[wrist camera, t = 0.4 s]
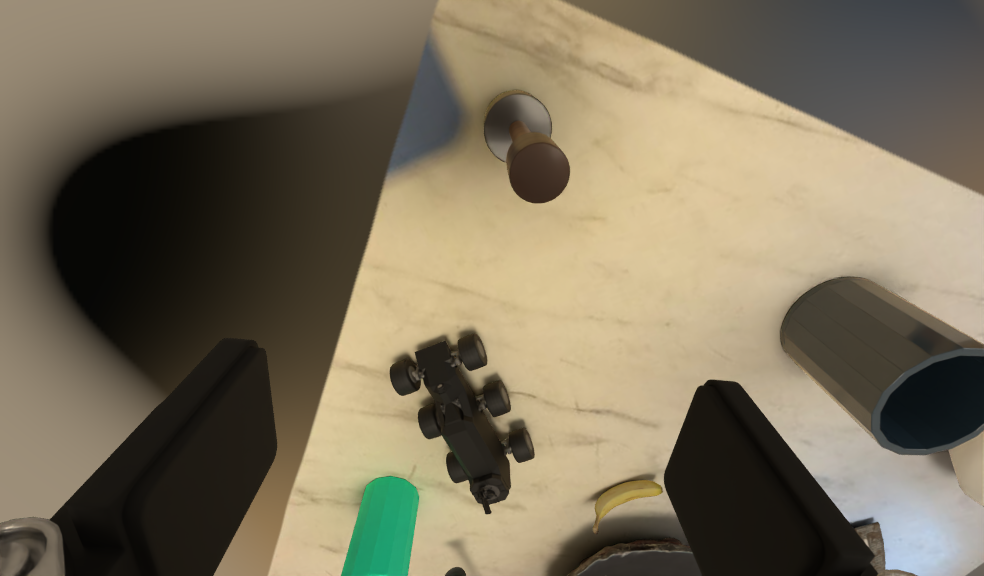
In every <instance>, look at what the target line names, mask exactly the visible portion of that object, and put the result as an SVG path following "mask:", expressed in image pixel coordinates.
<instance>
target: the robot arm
mask: <svg viewBox="0 0 984 576" xmlns="http://www.w3.org/2000/svg"><path fill="white" fill-rule="evenodd" d="M276 451H277V439H276V430H275V422H274V413H273V405H272V397H271V390H270V381H269V372H268V364H267V356H266V351H265V349H263V348H258V345H257V343H256V341H254V340H244V339H233V338H224V339H222V340H221V341H220V342H219V343H218V344H217V345H216V346H215V347H214V349H212V350H211V352H210V353H209V354H208V355H207V356H206V357H205V358H204V359H203V360H202V361H201V362H200V363H199V364H198V365H197V366H196V367H195V369H194V370H193V371H192V372H191V373H190V374H189V375H188V376H187V377H186V378H185V379H184V380H183V381H182V382H181V383H180V384H179V385H178V386H177V388H176V389H175V390H174V391H173V392H172V393H171V394H170V395H169V396H168V397H167V398H166V399H165V400H164V401H163V402H162V403H161V404H159V405H158V406H157V407H156V408H155V409H154V410H153V411H152V412H151V414H150V415H148V417H147V418H146V419H145V420H144V421H143V422H142V423H141V424H140V425H139V426H138V427H137V428H136V429H135V430H134V432H132V433H131V434H130V435H129V437H128V438H127V439H126V440H125V441H124V442H123V443H122V444H121V445H120V446H119V447H118V448H117V449H116V450H115V451H114V452H113V453H112V454H111V456H110V457H109V458H108V459H107V460H106V461H105V462H104V463H103V464H102V465H101V466H100V467H99V468H98V469H97V470H96V471H95V472H94V473H93V475H92V476H91V477H90V478H89V479H88V480H87V481H86V482H85V483H84V484H83V485H82V486H81V487H80V488H79V489H78V490H77V491H76V492H75V493H74V495H73V496H72V497H71V498H70V499H69V500H68V501H67V502H66V503H65V504H64V505H63V506H62V507H61V508H60V509H59V510H58V511H57V513H56V514H55V515H54V516H53V517H52V518H51V519H50V520H49V519H44V518H37V517H28V518H20V519H13V520H9V521H6V522H2V523H0V576H213V575H214V573H215V571H216V569H217V567H218V566H219V564H220V562H221V560H222V558H223V556H224V554H225V552H226V550H227V549H228V547H229V545H230V543H231V541H232V539H233V537H234V535H235V533H236V531H237V530H238V528H239V526H240V524H241V522H242V520H243V518H244V516H245V514H246V512H247V511H248V509H249V507H250V505H251V503H252V501H253V499H254V497H255V495H256V493H257V492H258V490H259V488H260V486H261V484H262V482H263V480H264V478H265V476H266V475H267V473H268V471H269V469H270V466H271V465H272V463H273V461H274V459H275V456H276ZM664 484H665V488H666V491H667V494H668V496H669V498H670V501H671V503H672V505H673V508H674V510H675V512H676V515H677V517H678V520H679V522H680V524H681V527H682V529H683V531H684V534H685V536H686V538H687V541H688V543H689V546H690V548H691V550H692V553H693V555H694V557H695V560H696V562H697V564H698V567H699V569H700V572H701V574H702V576H917V575H915V574H912V573H909V572H905V571H901V570H884V571H883V572H881V573H878V572H877V571H876V570H875V568H874V567H873V566H872V564H871V563H870V562H871V561H872V560H873V558H874V557H875V555H874V554H873V552H872V551H871V550H870V549H869V547H868V546H867V545H866V543H865V542H864V541H863V540H862V538H861V537H860V536H859V535H858V533H857V532H856V531H855V530H854V528H853V527H852V526H851V524H850V523H849V522H848V521H847V519H846V518H845V517H844V516H843V514H842V513H841V512H840V511H839V509H838V508H837V507H836V505H835V504H834V503H833V502H832V500H831V499H830V498H829V497H828V495H827V494H826V493H825V492H824V490H823V489H822V488H821V486H820V485H819V484H818V483H817V481H816V480H815V479H814V478H813V476H812V475H811V474H810V472H809V471H808V470H807V469H806V467H805V466H804V465H803V464H802V462H801V461H800V460H799V459H798V457H797V456H796V455H795V453H794V452H793V451H792V450H791V448H790V447H789V446H788V445H787V443H786V442H785V441H784V440H783V438H782V437H781V436H780V434H779V433H778V432H777V431H776V429H775V428H774V427H773V426H772V424H771V423H770V422H769V421H768V419H767V418H766V417H765V415H764V414H763V413H762V412H761V410H760V409H759V408H758V407H757V405H756V404H755V403H754V402H753V400H752V399H751V398H750V396H749V395H748V394H747V393H746V391H745V390H744V389H743V388H742V386H741V385H740V384H739V383H737V382H733V381H721V380H708V381H707V382H706V383H705V384H704V386H703V385H702V386H699V387H698V388H697V390H696V392H695V395H694V397H693V400H692V402H691V405H690V408H689V410H688V413H687V415H686V418H685V421H684V423H683V426H682V428H681V431H680V434H679V436H678V439H677V441H676V444H675V447H674V449H673V452H672V454H671V457H670V460H669V462H668V465H667V467H666V470H665V473H664Z"/></svg>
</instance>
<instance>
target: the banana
mask: <svg viewBox="0 0 984 576" xmlns="http://www.w3.org/2000/svg"><path fill="white" fill-rule="evenodd" d="M662 492H663V491H662V487H661V486H660V485H659V484H657V483H655V482H653V481H648V480H639V481H631V482H627V483H623V484H620V485H618V486H615V487H613V488H611V489H609V490H608V491H606V492H605V493H604V494H602V495H601V496H600V497H599V499H598V500H597V502H596V504H595V512H596V515H597V516H596V521H595V524H594V525H593V531H594V534H598V525H599V522H600V520H601V518H603V517H604V516H605V515H606V514H607V513H608V512H609V511H610V510H611V509H613V508H614V507H616V506H618V505H620V504H623V503H625V502H628V501H630V500H633V499H637V498H642V497H651V496H657V495H659V494H661V493H662Z"/></svg>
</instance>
